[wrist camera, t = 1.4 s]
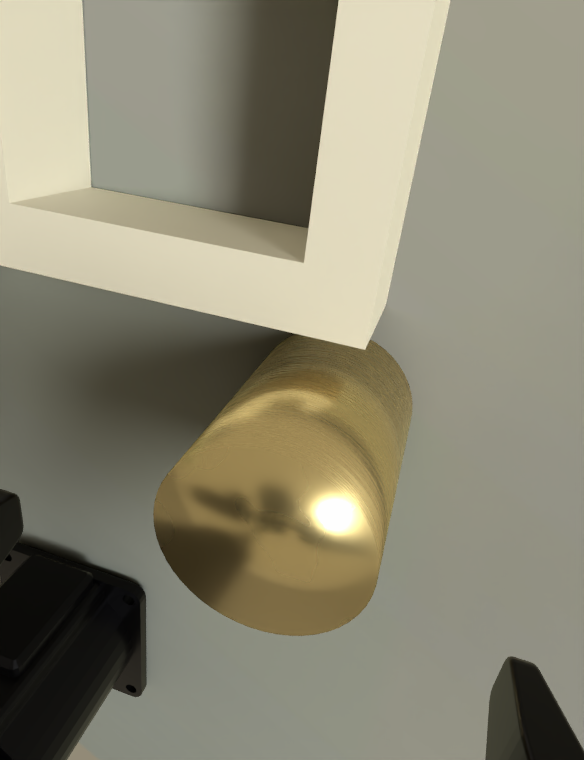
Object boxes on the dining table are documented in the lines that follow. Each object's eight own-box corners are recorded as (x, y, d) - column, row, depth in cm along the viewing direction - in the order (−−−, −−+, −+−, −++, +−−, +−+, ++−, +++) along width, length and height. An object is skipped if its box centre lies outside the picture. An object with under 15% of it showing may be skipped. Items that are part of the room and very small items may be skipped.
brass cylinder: (393, 484, 16) (354, 664, 11) (251, 445, 17) (153, 593, 12) (429, 348, 14) (402, 488, 9) (266, 311, 15) (153, 419, 10)
